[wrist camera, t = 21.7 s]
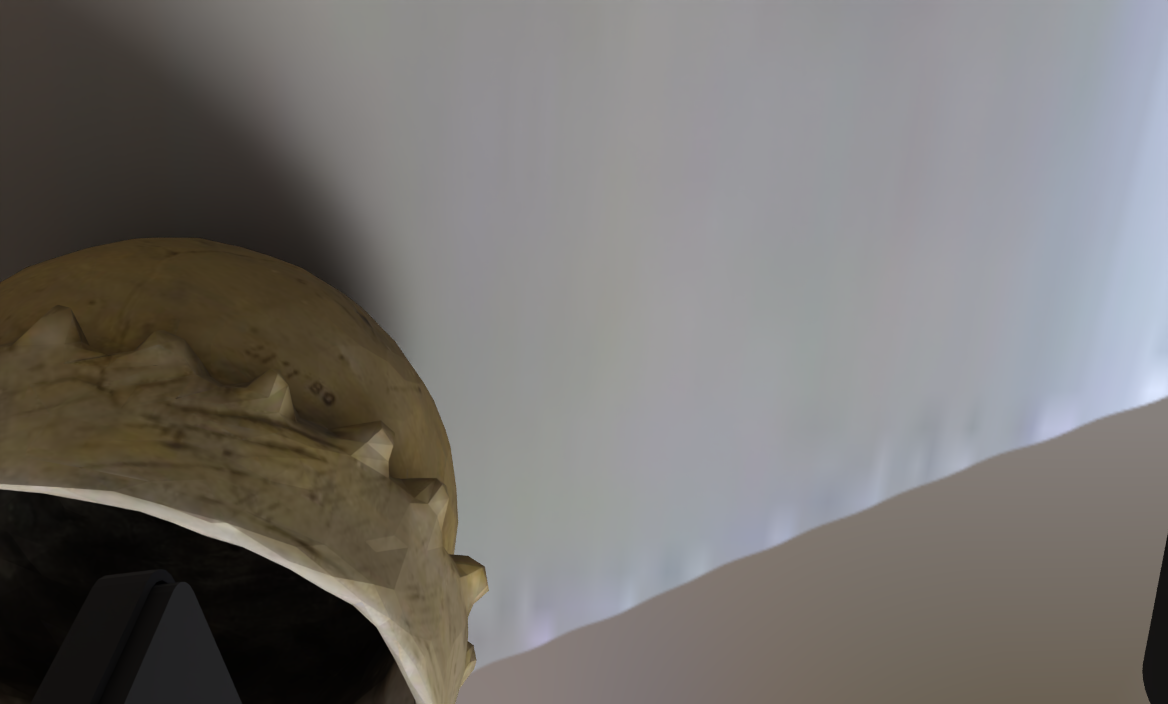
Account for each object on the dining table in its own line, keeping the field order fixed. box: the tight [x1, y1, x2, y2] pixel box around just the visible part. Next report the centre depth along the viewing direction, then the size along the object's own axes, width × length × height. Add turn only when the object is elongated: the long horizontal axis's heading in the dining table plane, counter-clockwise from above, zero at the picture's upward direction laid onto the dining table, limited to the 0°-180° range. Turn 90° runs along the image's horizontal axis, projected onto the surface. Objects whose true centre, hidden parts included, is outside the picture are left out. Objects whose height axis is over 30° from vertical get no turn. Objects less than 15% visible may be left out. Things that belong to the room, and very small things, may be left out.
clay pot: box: [0, 238, 489, 704], centre depth 36 cm, size 21×21×20 cm
